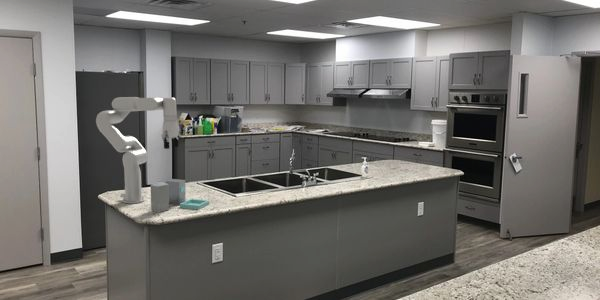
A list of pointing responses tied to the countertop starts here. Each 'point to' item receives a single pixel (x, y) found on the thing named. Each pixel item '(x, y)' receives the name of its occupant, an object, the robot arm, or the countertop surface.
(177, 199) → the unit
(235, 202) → the countertop surface
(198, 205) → the tray
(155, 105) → the robot arm
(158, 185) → the skincare box
